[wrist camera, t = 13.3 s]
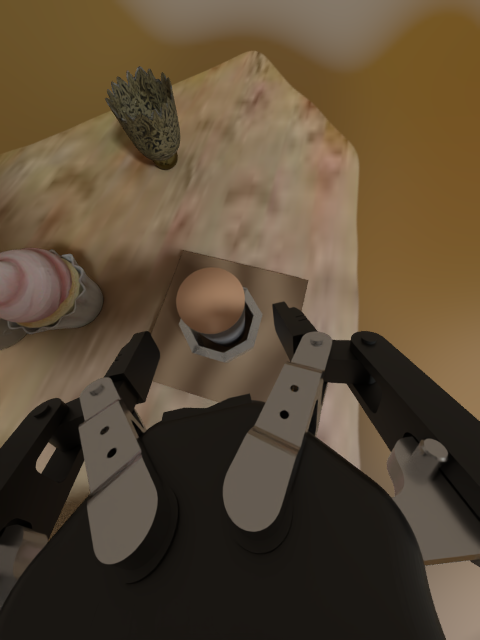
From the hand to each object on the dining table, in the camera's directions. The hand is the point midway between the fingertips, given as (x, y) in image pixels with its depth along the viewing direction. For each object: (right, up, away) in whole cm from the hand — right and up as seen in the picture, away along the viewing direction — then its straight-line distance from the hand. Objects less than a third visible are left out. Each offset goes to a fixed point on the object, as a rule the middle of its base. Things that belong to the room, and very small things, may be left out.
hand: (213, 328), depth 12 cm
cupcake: (-19, +3, +12) cm, 23 cm away
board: (0, 0, +11) cm, 11 cm away
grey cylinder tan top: (0, 0, +10) cm, 10 cm away
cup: (-9, +24, +17) cm, 31 cm away
